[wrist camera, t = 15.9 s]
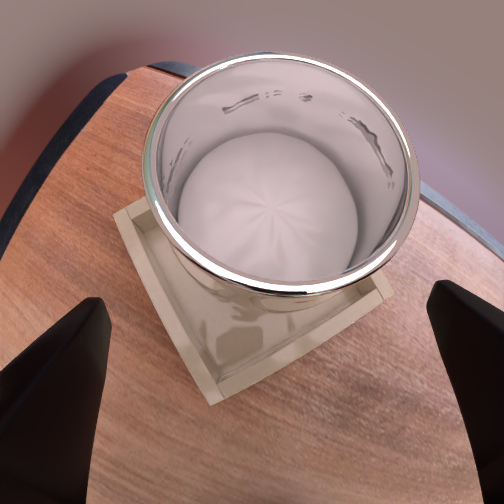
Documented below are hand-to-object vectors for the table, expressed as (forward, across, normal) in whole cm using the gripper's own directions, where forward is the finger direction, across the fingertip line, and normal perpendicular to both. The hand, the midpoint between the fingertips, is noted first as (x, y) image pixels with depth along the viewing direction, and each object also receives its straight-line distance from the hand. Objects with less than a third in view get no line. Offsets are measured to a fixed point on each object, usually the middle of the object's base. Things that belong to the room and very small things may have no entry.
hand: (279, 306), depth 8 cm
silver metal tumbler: (+12, 0, +7) cm, 14 cm away
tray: (+12, 0, +7) cm, 14 cm away
